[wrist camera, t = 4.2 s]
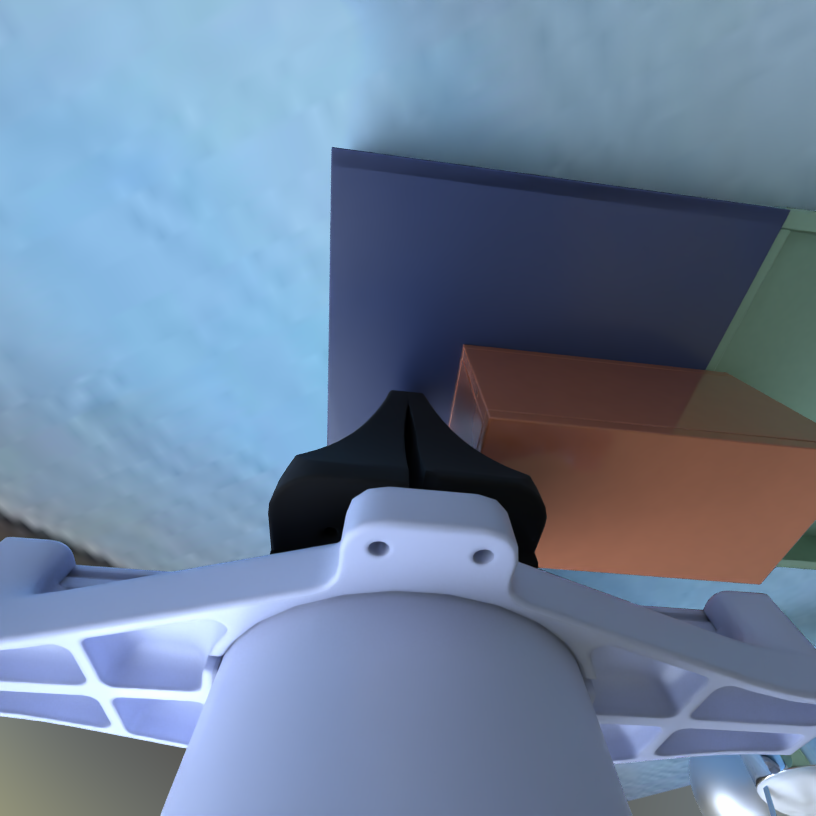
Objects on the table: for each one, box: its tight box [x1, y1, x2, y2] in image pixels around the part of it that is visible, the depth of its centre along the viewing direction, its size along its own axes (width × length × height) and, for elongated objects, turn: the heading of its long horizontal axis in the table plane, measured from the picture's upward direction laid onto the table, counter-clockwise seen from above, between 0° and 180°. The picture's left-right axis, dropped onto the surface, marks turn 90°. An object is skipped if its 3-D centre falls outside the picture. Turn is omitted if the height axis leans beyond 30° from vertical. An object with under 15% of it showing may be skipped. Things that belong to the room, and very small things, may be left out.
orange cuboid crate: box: [448, 344, 816, 584], centre depth 13 cm, size 10×5×5 cm, turn 84°
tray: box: [706, 206, 816, 570], centre depth 18 cm, size 16×14×2 cm
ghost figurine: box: [689, 754, 789, 816], centre depth 31 cm, size 9×10×10 cm
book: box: [327, 147, 791, 446], centre depth 17 cm, size 16×14×3 cm
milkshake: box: [739, 737, 816, 816], centre depth 24 cm, size 5×5×10 cm
